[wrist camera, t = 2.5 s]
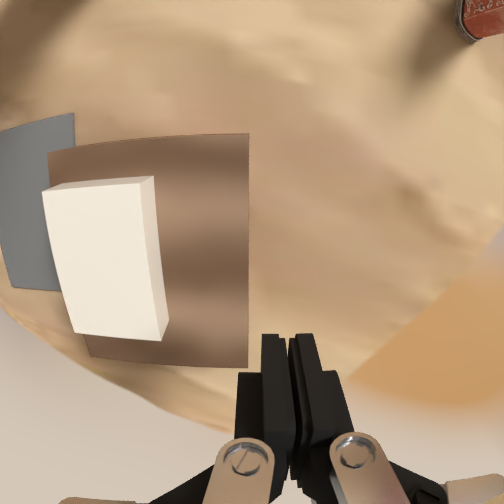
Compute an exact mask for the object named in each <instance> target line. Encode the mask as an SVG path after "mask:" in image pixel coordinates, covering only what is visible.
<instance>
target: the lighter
mask: <svg viewBox="0 0 504 504" xmlns="http://www.w3.org/2000/svg"><path fill="white" fill-rule="evenodd" d="M454 21H455V26H456V28H457V30H458V31H459V33H460V34H461V35H462V36H463V37H464V38H465V39H466V40H468V41H470V42H477V41H481V40H483V39H484V37H488V36H492V35H496V34H501V33H504V0H457V3H456V8H455V18H454Z"/></svg>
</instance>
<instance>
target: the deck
mask: <svg viewBox="0 0 504 504" xmlns="http://www.w3.org/2000/svg"><path fill="white" fill-rule="evenodd" d="M47 160H48V171H49V181H50V188H52V187H54V186H57V185H59V184H62V183H70V182H79V181H90V180H101V179H113V178H126V177H141V176H154V190H155V204H156V216H157V227H158V238H159V247H160V256H161V265H162V273H163V281H164V288H165V296H166V303H167V309H168V316H169V321H168V324H167V327H166V329H165V332H164V335H163V337H162V340H161V341H152V340H139V339H128V338H117V337H108V336H99V335H90V334H83V335H84V338H85V341H86V344H87V347H88V349H89V352H90V355H91V356H92V357H99V358H106V359H114V360H122V361H131V362H140V363H150V364H162V365H175V366H192V367H214V368H248V280H249V134H202V135H181V136H165V137H152V138H141V139H130V140H121V141H112V142H104V143H97V144H90V145H83V146H77V147H72V148H66V149H62V150H57V151H52V152H48V153H47Z"/></svg>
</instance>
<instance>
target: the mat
mask: <svg viewBox="0 0 504 504" xmlns="http://www.w3.org/2000/svg"><path fill="white" fill-rule="evenodd" d="M72 147H75V135H74V113H69V114H64V115H60V116H56V117H51V118H47V119H43V120H40V121H36V122H32V123H28V124H25V125H21V126H18V127H15V128H11V129H8V130H5V131H2V132H0V246H1V250H2V254H3V258H4V262H5V265H6V269H7V272H8V276H9V279H10V283H11V286H12V287H20V288H31V289H42V290H54V291H62V290H61V286H60V282H59V278H58V274H57V270H56V266H55V262H54V258H53V253H52V249H51V244H50V239H49V234H48V228H47V223H46V217H45V211H44V204H43V197H42V191H45V190H47V189H49V188H50V181H49V171H48V160H47V153H48V152H52V151H57V150H62V149H66V148H72Z"/></svg>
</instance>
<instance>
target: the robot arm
mask: <svg viewBox="0 0 504 504" xmlns="http://www.w3.org/2000/svg"><path fill="white" fill-rule="evenodd" d="M289 465H290V476H291V480H297V485H298V488H302V490H303V493H304V494H305V495H307V496H308V497H310V498H311V502H312V504H504V477H503V476H502V475H499V474H489V475H485V476H479V477H473V478H468V479H461V480H454V481H447V482H446V483H445V484H441V485H439V484H438V483H436V482H434V481H432V480H429V479H427V478H425V477H423V476H420V475H418V474H416V473H413V472H412V471H409V470H407V469H405V468H403V467H401V466H399V465H397V464H395V463H393V462H391V461H388V459H387V457H386V455H385V453H384V451H383V450H382V448H381V446H380V444H379V443H378V442H377V440H376V439H374V438H373V437H372V436H370V435H367V434H365V433H360V432H354V428H353V425H352V421H351V418H350V414H349V411H348V407H347V404H346V400H345V397H344V393H343V390H342V387H341V383H340V380H339V377H338V374H337V372H336V371H335V370H331V371H322V367H321V363H320V359H319V355H318V351H317V347H316V343H315V340H314V336H313V334H312V333H305V334H296V335H295V338H290V339H289V348H288V357H287V349H286V342H285V338H279V334H262V348H261V373H254V372H239V373H238V386H237V402H236V418H235V434H234V440H232V441H230V442H228V443H226V444H225V445H224V446H223V447H222V448H221V449H220V451H219V453H218V455H217V458H216V461H215V464H214V465H212V466H211V467H209V468H208V469H206V470H204V471H203V472H201V473H200V474H198V475H197V476H195V477H193V478H192V479H190V480H188V481H187V482H185V483H183V484H182V485H180V486H178V487H176V488H175V489H173V490H171V491H169V492H168V493H166V494H164V495H162V496H160V497H158V498H157V499H155V500H153V501H151V502H150V503H144V504H270V503H271V502H272V501H274V500H275V499H276V498H277V497H278V496H279V495H281V493H282V488H283V484H284V480H286V479H287V474H288V469H289ZM59 504H143V503H136V502H135V501H113V500H99V499H88V498H79V497H69V498H66V499H64V500H62V501H61V502H60V503H59Z"/></svg>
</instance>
